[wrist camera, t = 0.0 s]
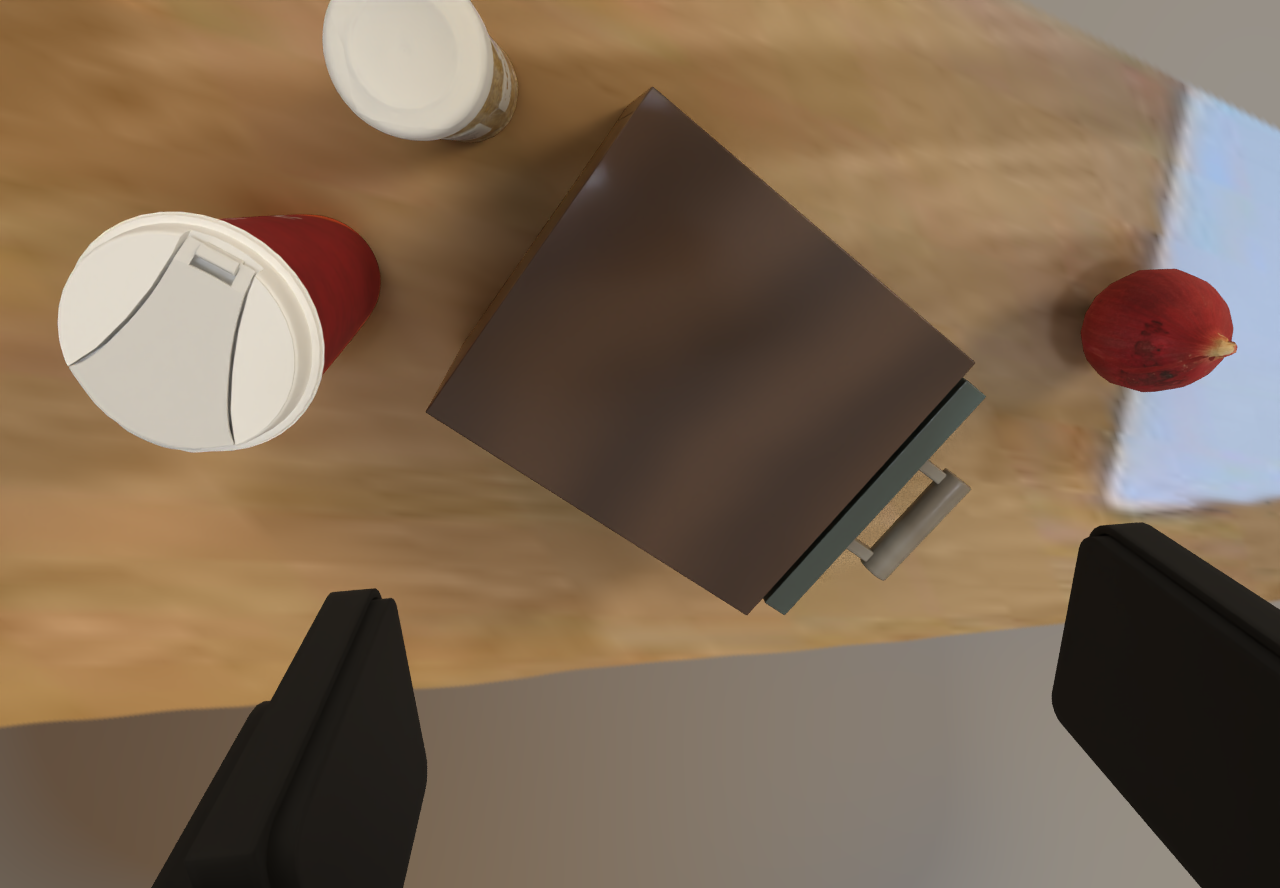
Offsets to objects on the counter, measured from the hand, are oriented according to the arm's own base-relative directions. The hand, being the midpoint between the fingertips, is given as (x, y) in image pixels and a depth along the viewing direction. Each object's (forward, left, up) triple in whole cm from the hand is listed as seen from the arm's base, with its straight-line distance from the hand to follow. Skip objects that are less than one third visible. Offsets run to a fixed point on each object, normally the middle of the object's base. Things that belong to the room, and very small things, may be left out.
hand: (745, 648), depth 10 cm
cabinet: (0, +3, -29) cm, 29 cm away
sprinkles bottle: (-3, -11, -29) cm, 31 cm away
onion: (-14, +21, -29) cm, 39 cm away
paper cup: (+8, -12, -29) cm, 32 cm away
